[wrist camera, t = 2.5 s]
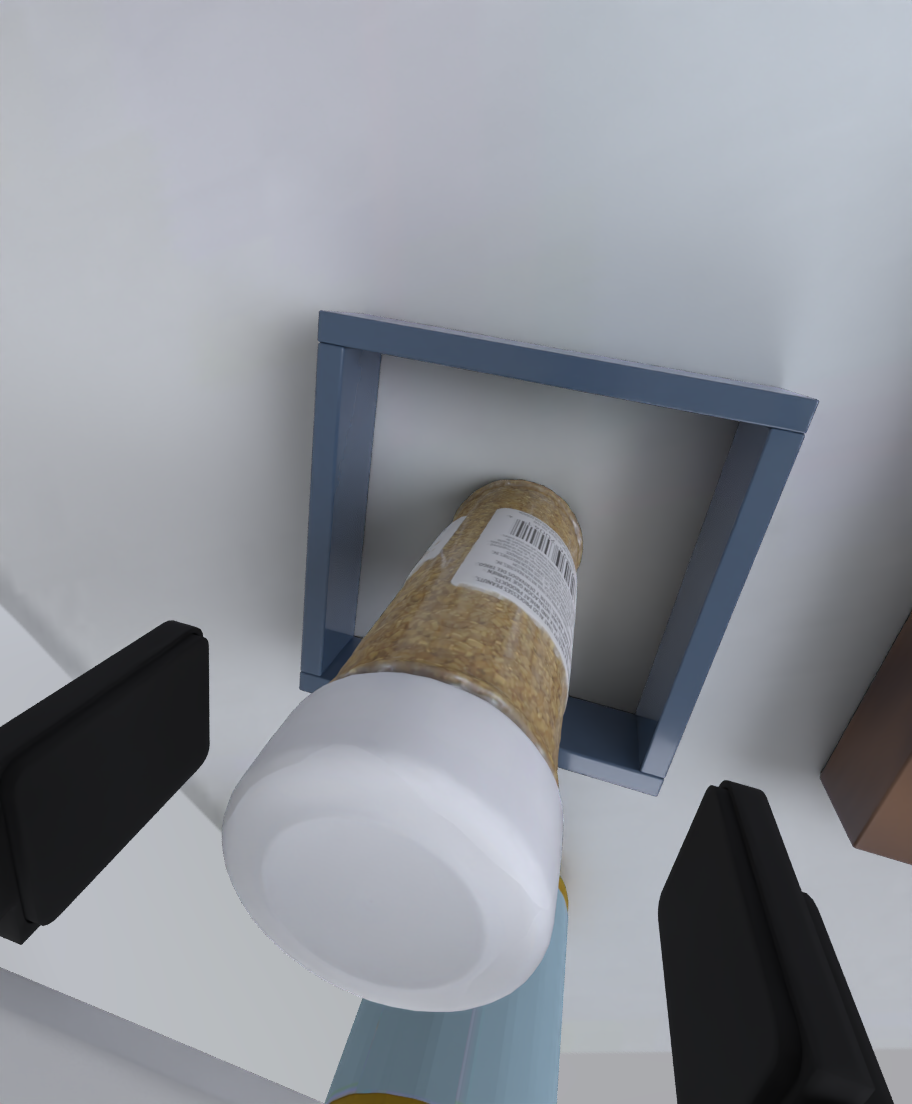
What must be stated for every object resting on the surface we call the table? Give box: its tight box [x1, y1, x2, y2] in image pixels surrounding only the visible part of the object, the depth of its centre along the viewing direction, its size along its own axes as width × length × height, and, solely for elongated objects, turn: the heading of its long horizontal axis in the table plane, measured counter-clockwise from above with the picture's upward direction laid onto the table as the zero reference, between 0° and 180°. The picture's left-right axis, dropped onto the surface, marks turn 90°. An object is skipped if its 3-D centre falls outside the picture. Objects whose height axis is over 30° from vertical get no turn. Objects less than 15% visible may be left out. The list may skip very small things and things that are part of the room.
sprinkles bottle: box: [222, 480, 583, 1012], centre depth 13 cm, size 5×5×13 cm
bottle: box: [325, 877, 568, 1104], centre depth 18 cm, size 7×7×15 cm
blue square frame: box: [299, 310, 819, 796], centre depth 18 cm, size 13×13×3 cm
